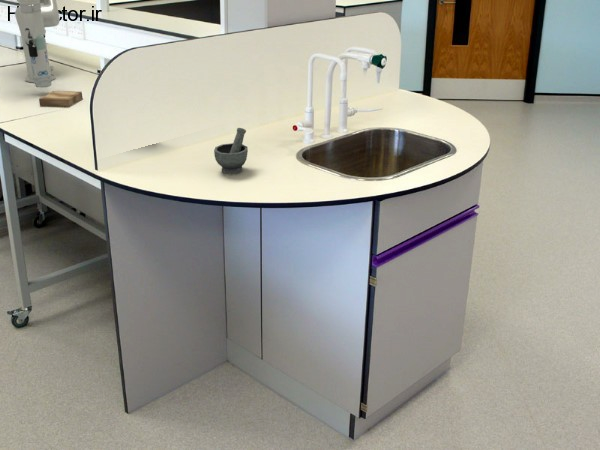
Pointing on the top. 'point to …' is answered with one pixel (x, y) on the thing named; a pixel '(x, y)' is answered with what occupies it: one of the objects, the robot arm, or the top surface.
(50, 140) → the top surface
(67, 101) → the square brown tray
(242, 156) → the mortar and pestle
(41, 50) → the pale blue bottle
